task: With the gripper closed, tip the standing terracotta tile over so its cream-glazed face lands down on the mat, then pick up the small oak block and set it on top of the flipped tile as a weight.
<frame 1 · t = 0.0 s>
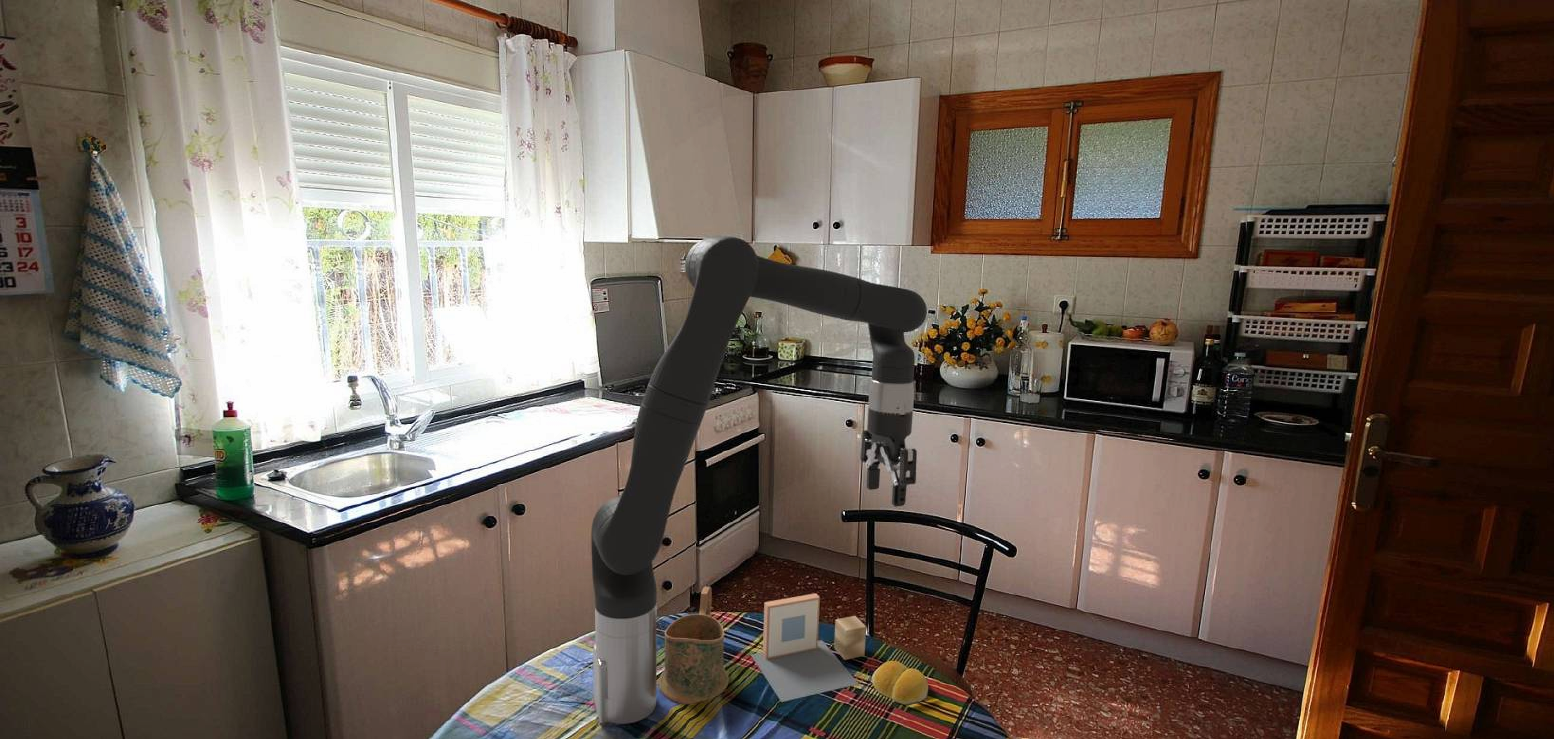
hand: (885, 496, 124), 29 cm above the table, tool pointing down, fingers open, 8 cm apart
mug: (697, 672, 121), on the table
mat: (803, 670, 122), on the table
tile: (790, 651, 127), resting on mat
bread roll: (899, 691, 118), on the table
block: (849, 653, 128), on the table
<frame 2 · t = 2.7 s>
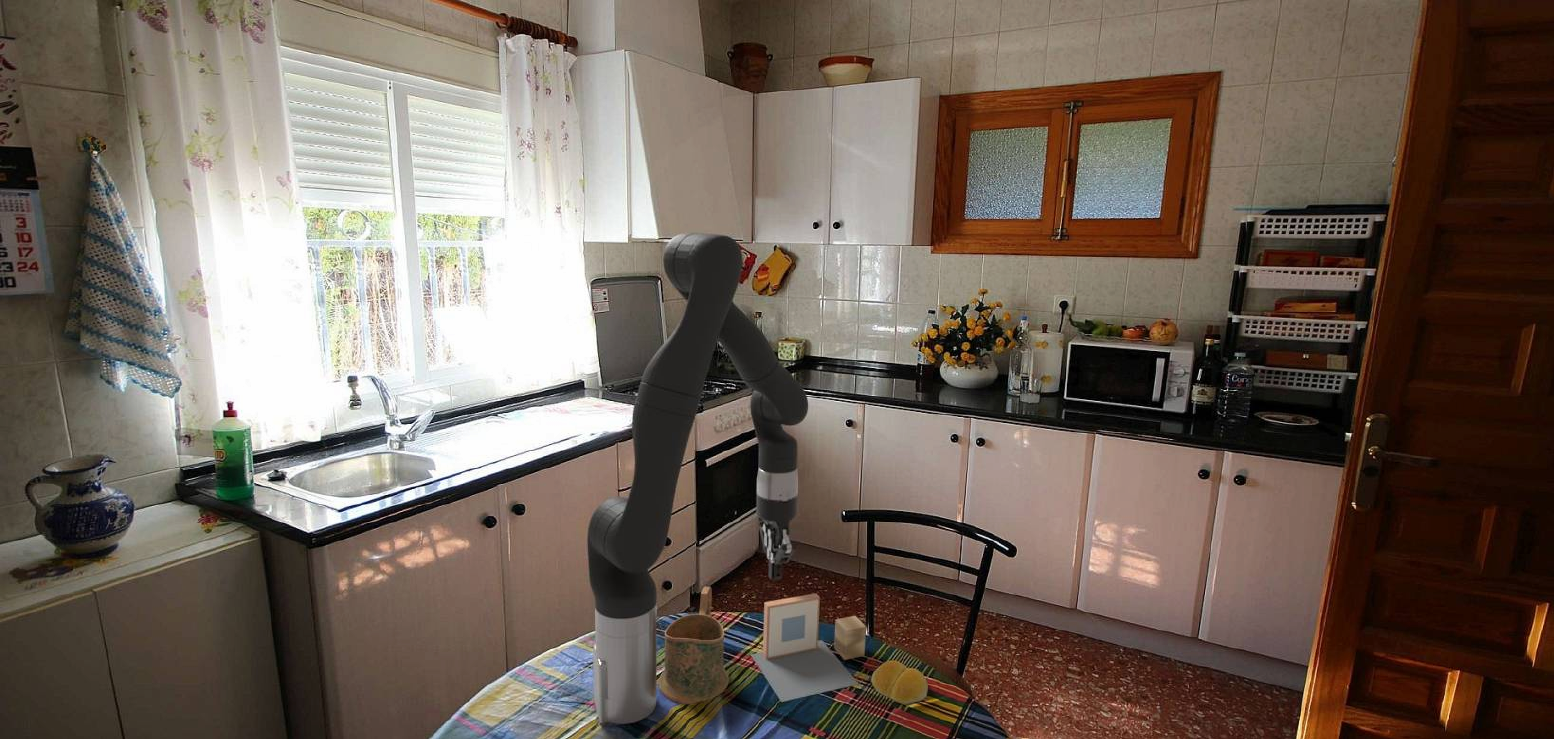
hand: (775, 578, 133), 10 cm above the table, tool pointing down, fingers closed
nothing on the table moved.
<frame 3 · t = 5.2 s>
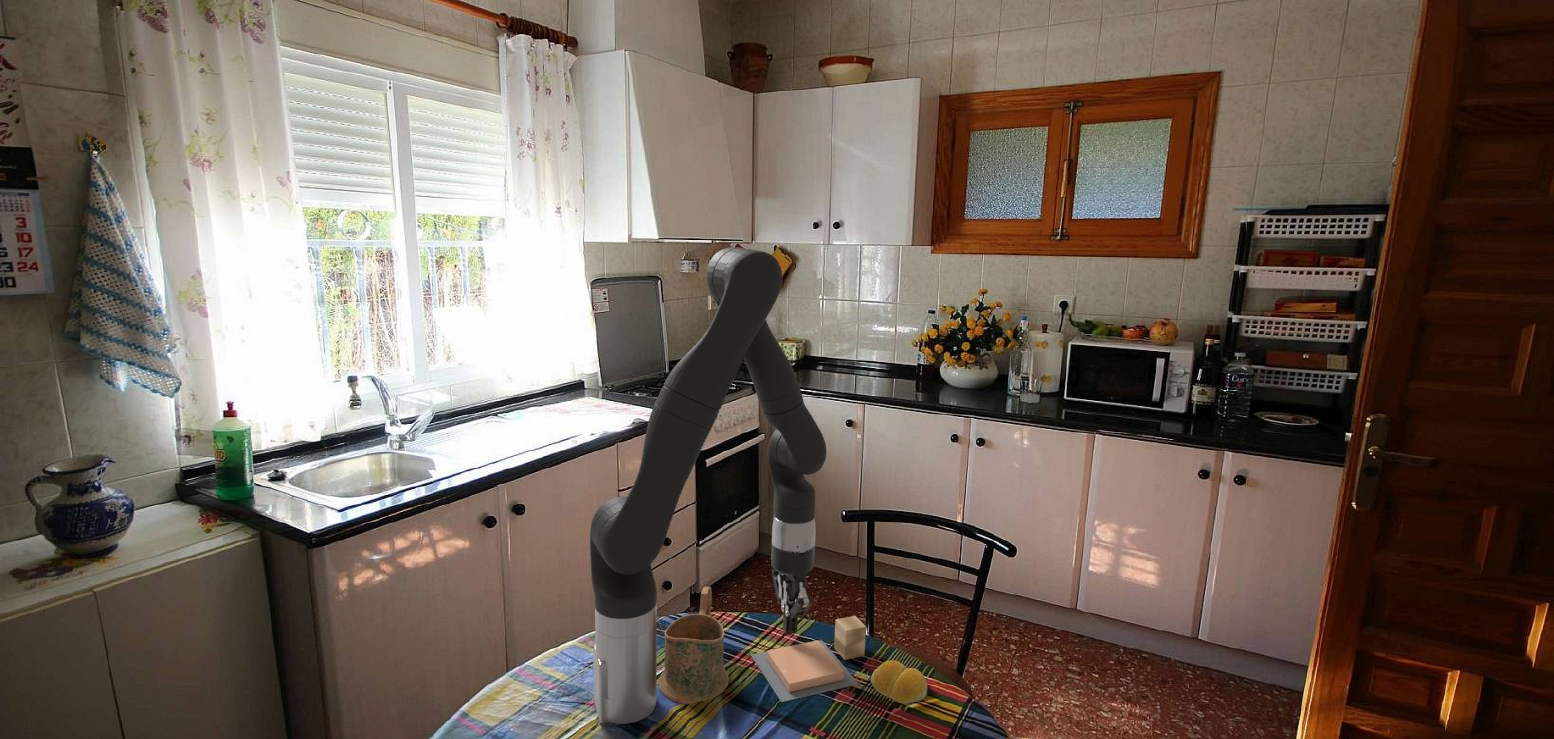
hand: (789, 632, 127), 4 cm above the table, tool pointing down, fingers closed
tile: (792, 649, 126), point 1 cm above the table, tilted 90°, touching mat
everything else where it was.
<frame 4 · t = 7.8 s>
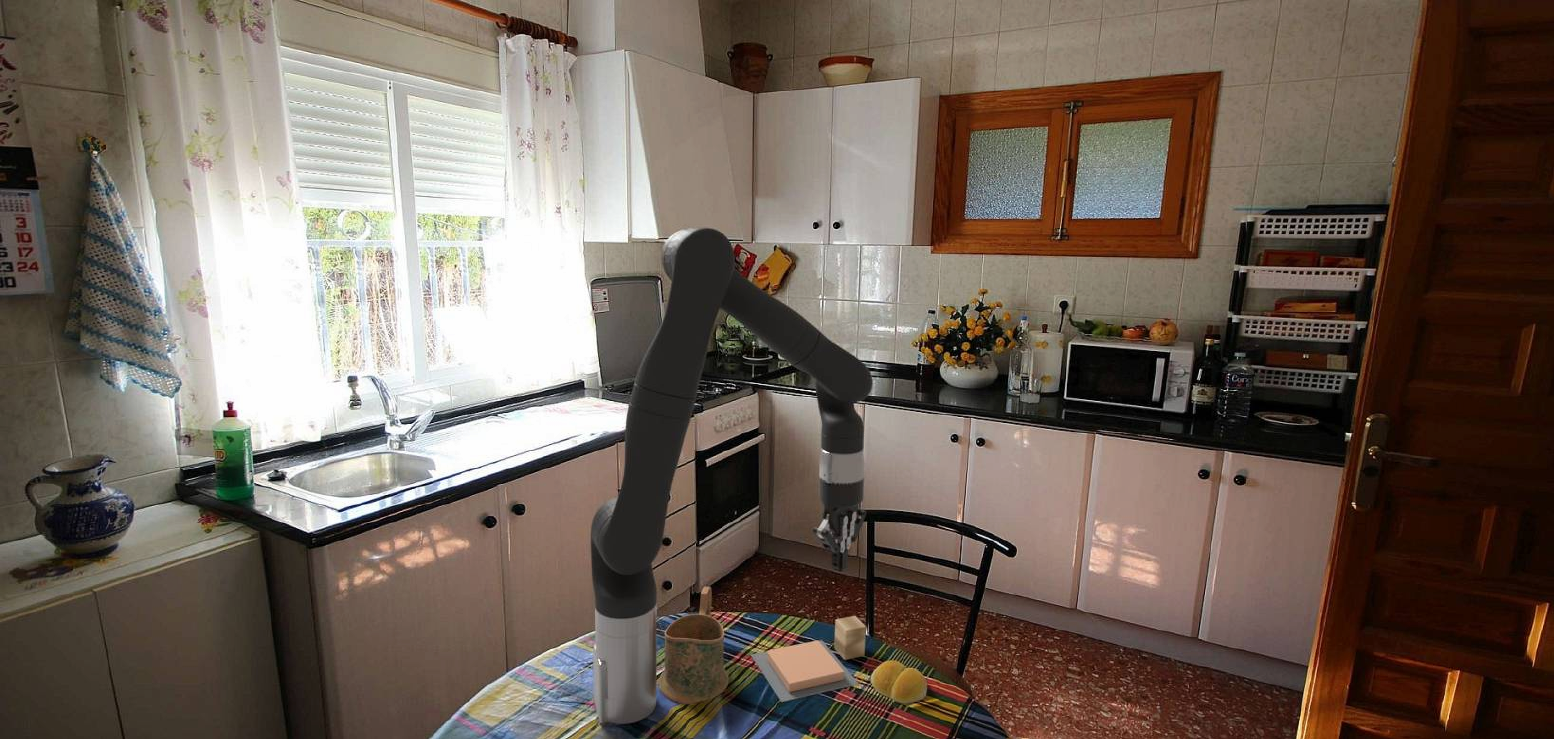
hand: (839, 569, 123), 17 cm above the table, tool pointing down, fingers closed
nothing on the table moved.
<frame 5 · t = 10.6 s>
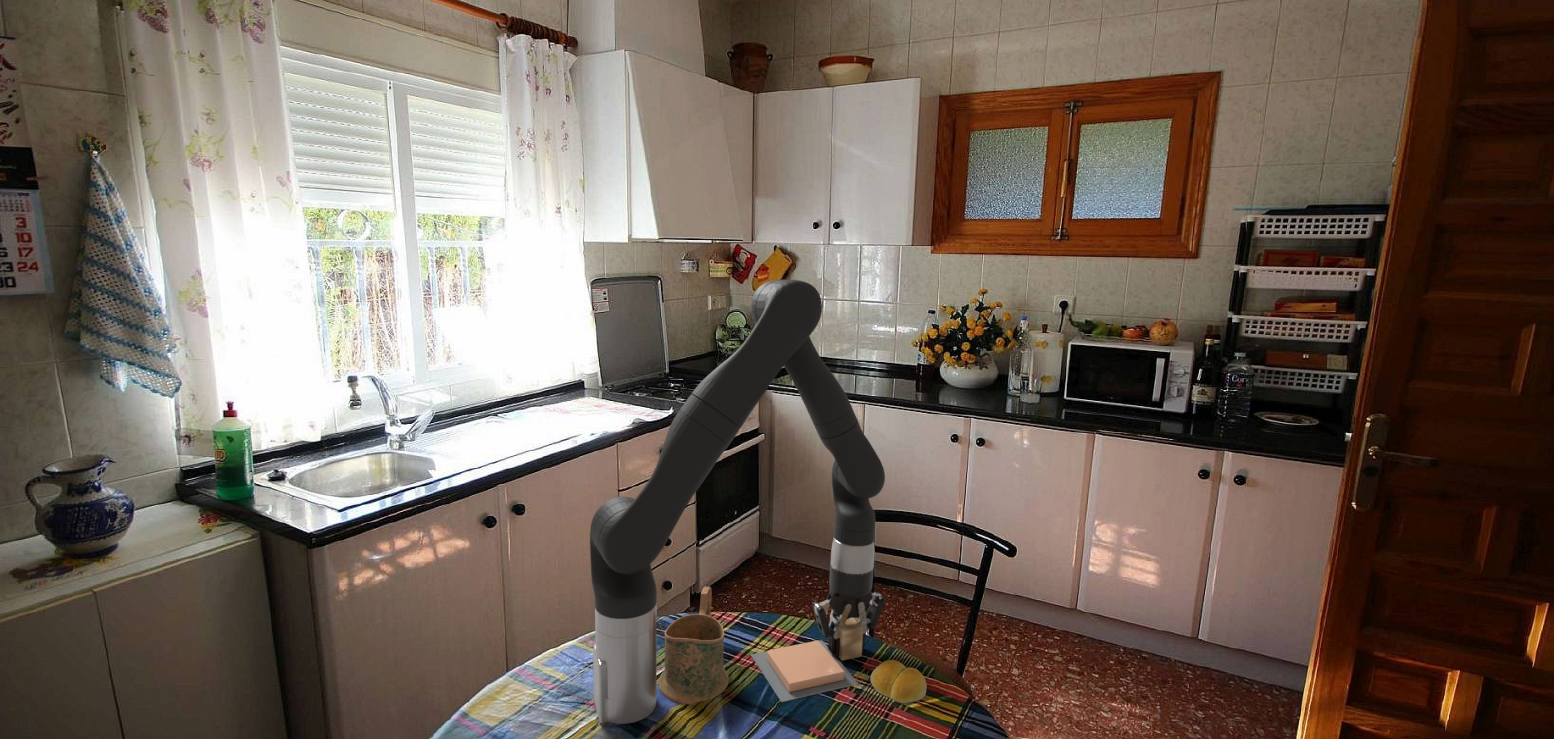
hand: (845, 651, 127), 0 cm above the table, tool pointing down, fingers closed on block, 4 cm apart
block: (846, 654, 128), on the table, touching gripper
everything else where it was.
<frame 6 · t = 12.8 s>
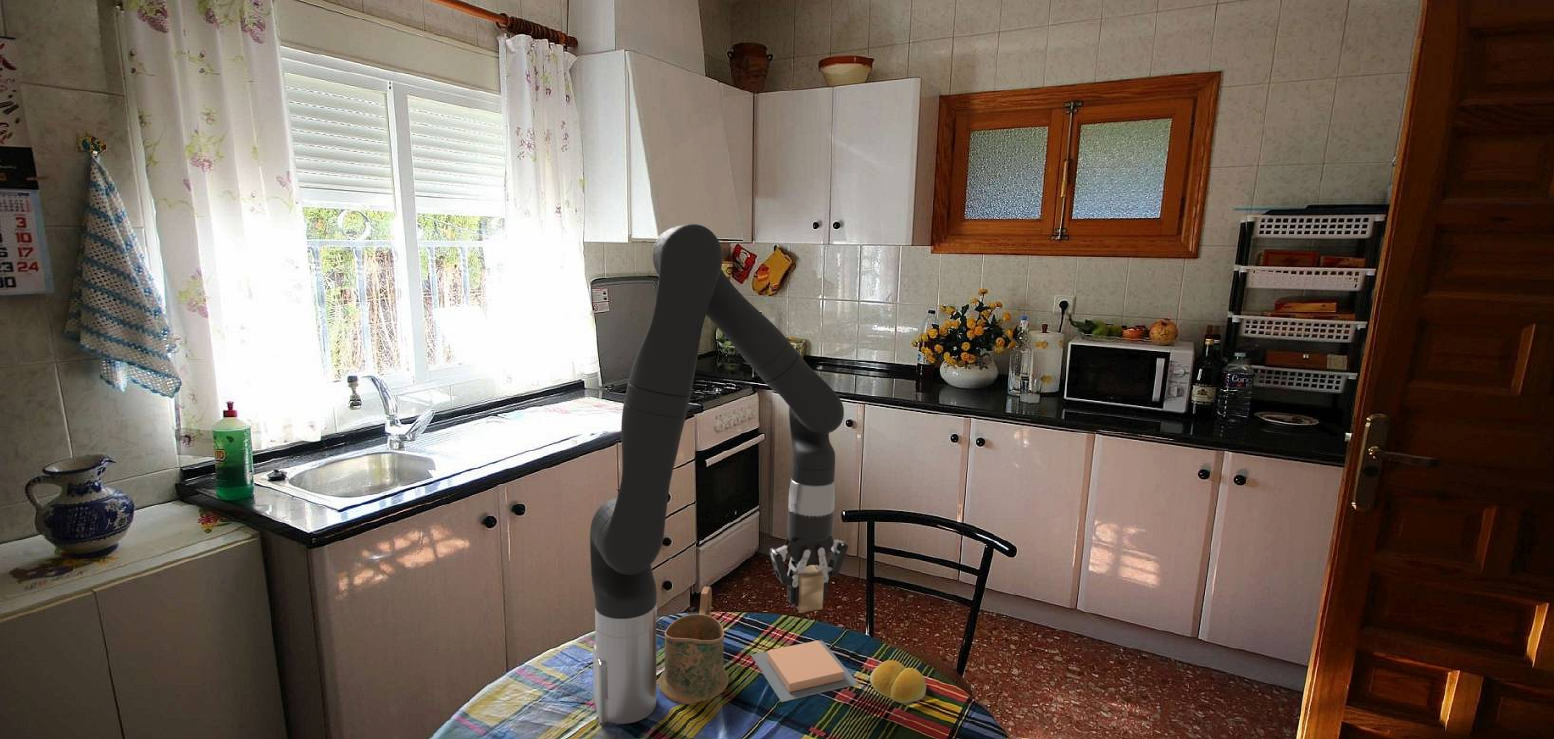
hand: (806, 602, 119), 13 cm above the table, tool pointing down, fingers closed on block, 4 cm apart
block: (806, 605, 119), point 12 cm above the table, touching gripper
everything else where it was.
when the fingers open (4 cm above the table, at t = 14.9 s): block drops 1 cm, resting on tile.
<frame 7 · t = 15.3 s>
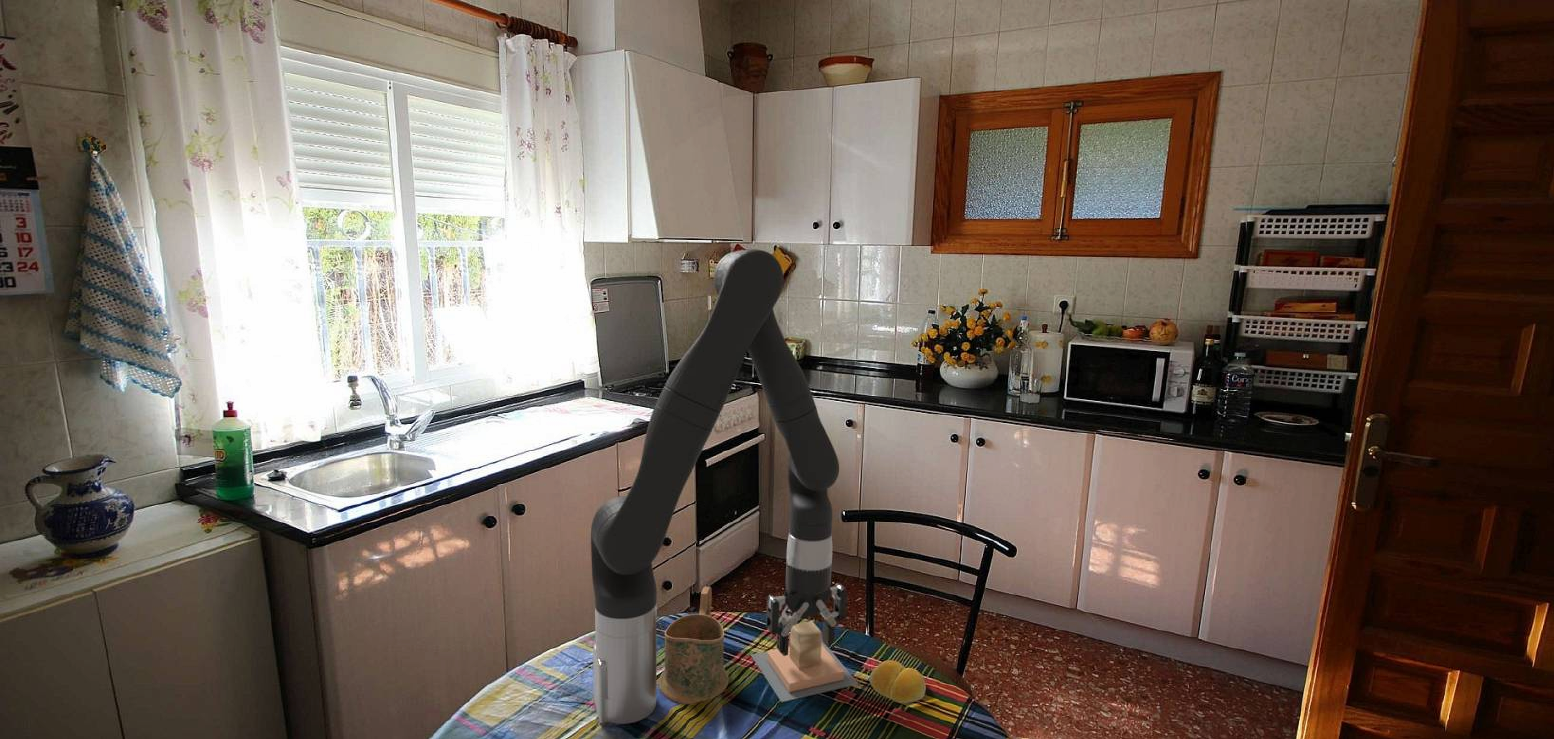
hand: (805, 648, 121), 4 cm above the table, tool pointing down, fingers open, 7 cm apart
tile: (792, 649, 126), point 1 cm above the table, tilted 90°, touching block, mat
block: (804, 661, 121), point 2 cm above the table, touching tile
everything else where it was.
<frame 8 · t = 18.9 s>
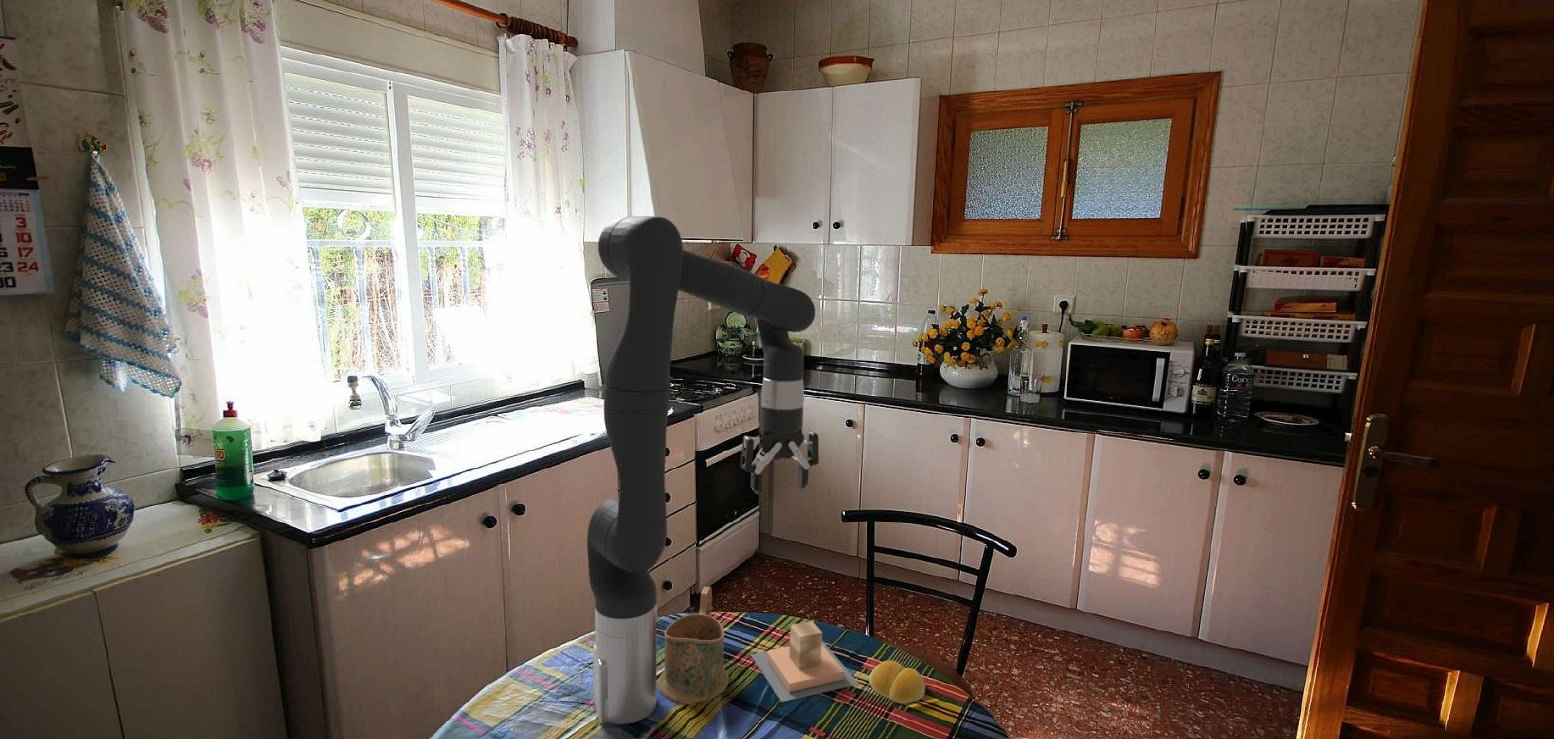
hand: (779, 489, 129), 28 cm above the table, tool pointing down, fingers open, 8 cm apart
nothing on the table moved.
at the end: tile tilted 90°; tile inside the target area (3.6 cm from its centre), point 1.4 cm above the table; block inside the target area (0.5 cm from its centre), point 2.1 cm above the table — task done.
